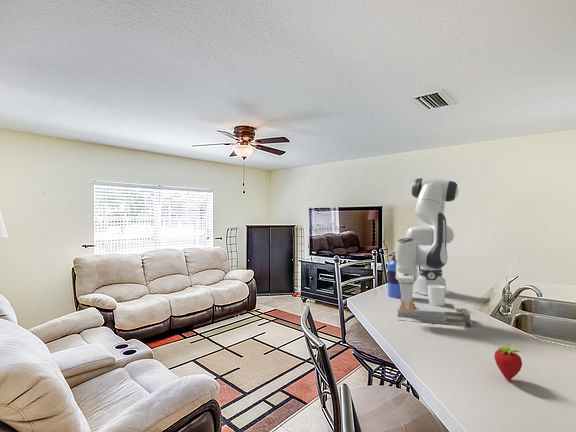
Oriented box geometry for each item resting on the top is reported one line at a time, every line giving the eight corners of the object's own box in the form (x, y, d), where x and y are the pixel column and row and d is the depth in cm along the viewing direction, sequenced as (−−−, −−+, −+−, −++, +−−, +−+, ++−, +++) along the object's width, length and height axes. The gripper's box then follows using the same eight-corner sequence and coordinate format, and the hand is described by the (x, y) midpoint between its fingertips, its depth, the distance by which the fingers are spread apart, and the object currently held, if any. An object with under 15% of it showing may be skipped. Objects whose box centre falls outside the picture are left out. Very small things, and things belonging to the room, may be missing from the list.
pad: (400, 308, 152) (400, 301, 152) (416, 309, 150) (415, 302, 150) (399, 312, 146) (399, 304, 146) (416, 313, 143) (415, 305, 143)
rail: (398, 313, 144) (398, 303, 144) (468, 319, 133) (467, 308, 133) (397, 320, 134) (397, 309, 134) (472, 326, 124) (471, 315, 124)
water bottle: (384, 298, 173) (382, 252, 173) (397, 296, 176) (395, 251, 177) (396, 301, 164) (395, 254, 165) (409, 299, 168) (408, 253, 168)
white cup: (444, 310, 147) (443, 288, 148) (426, 307, 152) (425, 287, 152) (447, 306, 154) (446, 285, 154) (430, 303, 159) (429, 284, 159)
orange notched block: (401, 311, 136) (400, 298, 136) (401, 309, 140) (401, 296, 141) (413, 312, 134) (413, 299, 135) (413, 309, 139) (412, 297, 139)
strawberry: (515, 374, 86) (513, 337, 86) (528, 388, 79) (526, 348, 79) (491, 372, 88) (489, 336, 88) (501, 385, 80) (499, 346, 81)
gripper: (399, 271, 149) (400, 300, 148) (397, 279, 130) (399, 312, 129) (414, 271, 146) (415, 301, 146) (414, 279, 127) (415, 313, 127)
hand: (407, 306), depth 137 cm, fingers closed on orange notched block, 5 cm apart
